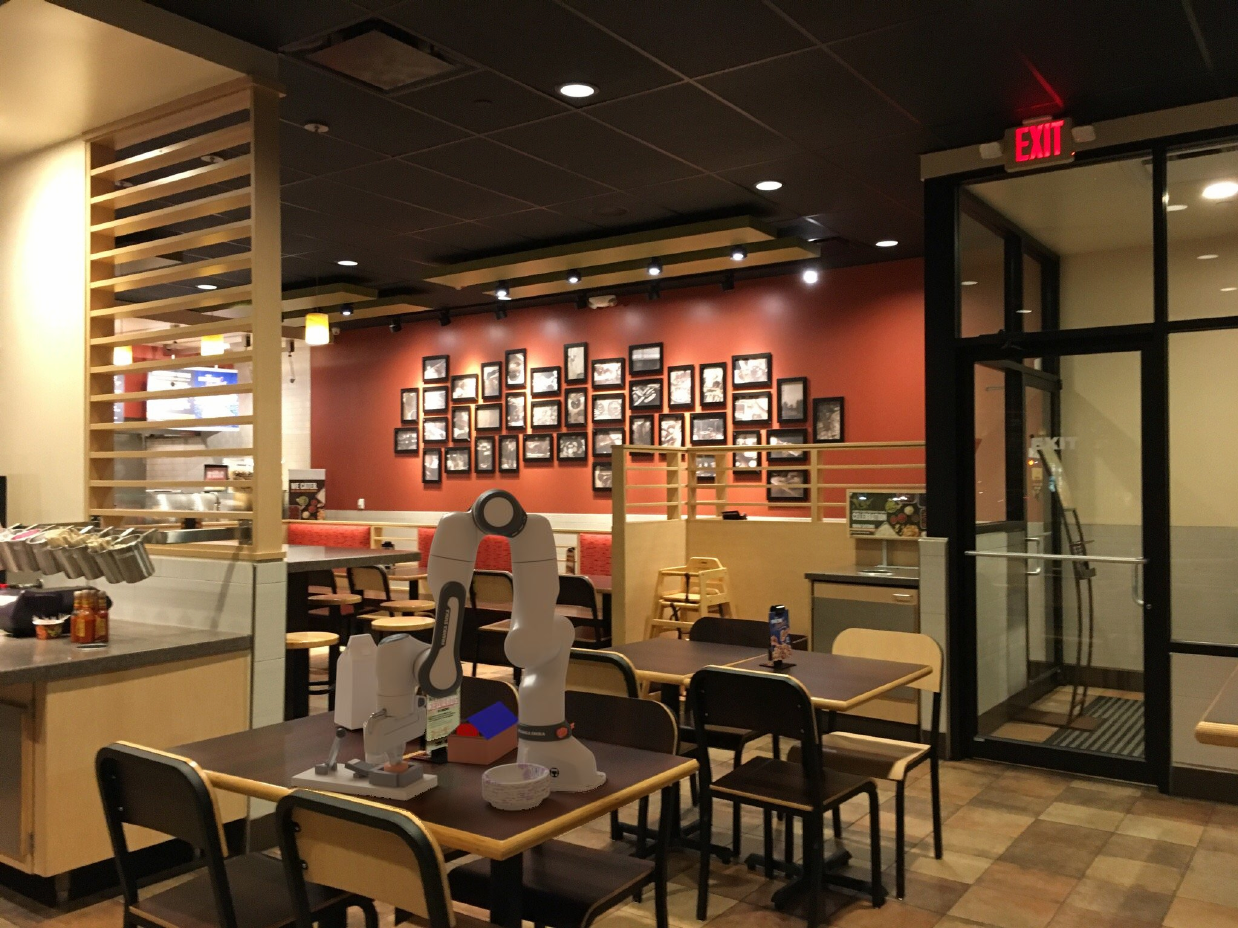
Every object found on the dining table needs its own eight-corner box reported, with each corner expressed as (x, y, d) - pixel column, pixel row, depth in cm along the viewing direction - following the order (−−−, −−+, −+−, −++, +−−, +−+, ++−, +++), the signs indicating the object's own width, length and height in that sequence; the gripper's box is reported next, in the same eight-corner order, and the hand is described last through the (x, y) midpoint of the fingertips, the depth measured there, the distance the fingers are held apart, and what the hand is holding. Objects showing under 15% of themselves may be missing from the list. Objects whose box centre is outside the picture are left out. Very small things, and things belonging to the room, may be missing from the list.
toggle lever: (333, 770, 246) (349, 730, 244) (327, 773, 244) (343, 732, 242) (326, 765, 247) (342, 725, 245) (320, 768, 245) (335, 727, 243)
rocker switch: (376, 771, 242) (377, 765, 242) (366, 776, 239) (367, 770, 239) (354, 762, 245) (355, 757, 245) (344, 767, 241) (345, 762, 241)
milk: (371, 715, 313) (370, 630, 313) (389, 722, 304) (387, 635, 304) (334, 722, 305) (333, 635, 305) (351, 729, 296) (350, 639, 296)
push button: (413, 774, 240) (413, 761, 240) (399, 781, 234) (399, 768, 234) (393, 772, 242) (392, 759, 242) (379, 778, 237) (378, 766, 237)
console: (437, 788, 241) (437, 762, 241) (405, 805, 229) (405, 778, 229) (326, 773, 254) (326, 749, 254) (291, 789, 241) (291, 764, 241)
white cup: (371, 767, 258) (371, 728, 258) (358, 761, 264) (357, 722, 264) (400, 761, 263) (399, 723, 263) (386, 755, 269) (385, 717, 269)
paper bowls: (467, 811, 225) (467, 775, 225) (512, 792, 238) (511, 758, 238) (521, 824, 217) (521, 786, 217) (564, 803, 229) (564, 768, 229)
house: (520, 745, 278) (519, 702, 278) (488, 765, 259) (487, 720, 259) (480, 741, 282) (480, 699, 282) (445, 762, 263) (445, 716, 263)
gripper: (380, 716, 227) (380, 778, 227) (430, 696, 246) (431, 753, 246) (356, 713, 230) (357, 775, 230) (408, 694, 249) (408, 750, 249)
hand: (395, 763), depth 238 cm, fingers closed, pressing on push button
